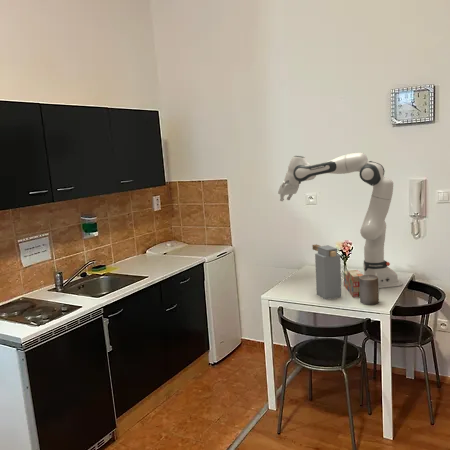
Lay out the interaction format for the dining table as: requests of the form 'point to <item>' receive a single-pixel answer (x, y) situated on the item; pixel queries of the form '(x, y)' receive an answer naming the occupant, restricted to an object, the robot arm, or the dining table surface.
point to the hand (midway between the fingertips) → (284, 200)
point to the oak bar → (331, 253)
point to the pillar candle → (369, 289)
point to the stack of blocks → (352, 282)
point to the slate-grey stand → (328, 273)
